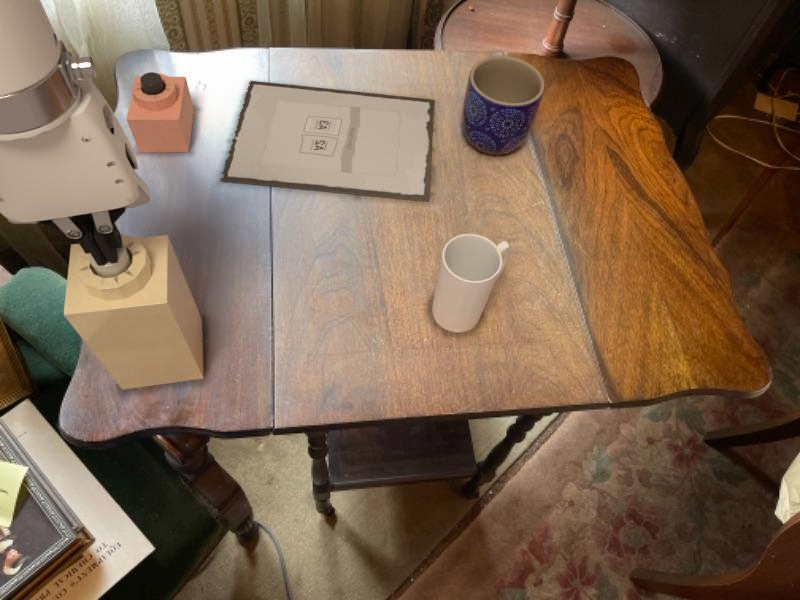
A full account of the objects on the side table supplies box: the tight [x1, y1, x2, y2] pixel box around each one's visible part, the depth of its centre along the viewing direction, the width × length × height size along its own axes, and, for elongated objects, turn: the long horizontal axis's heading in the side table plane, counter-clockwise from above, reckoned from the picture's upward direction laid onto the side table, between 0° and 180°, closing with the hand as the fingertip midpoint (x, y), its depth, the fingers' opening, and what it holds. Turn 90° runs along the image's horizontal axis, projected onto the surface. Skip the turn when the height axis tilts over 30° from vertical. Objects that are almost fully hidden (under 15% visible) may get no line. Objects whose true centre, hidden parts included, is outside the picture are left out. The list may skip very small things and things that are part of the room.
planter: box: [461, 55, 546, 156], centre depth 90 cm, size 11×11×11 cm
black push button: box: [140, 71, 164, 95], centre depth 84 cm, size 3×3×2 cm
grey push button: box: [88, 243, 131, 278], centre depth 55 cm, size 3×3×2 cm
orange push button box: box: [126, 73, 195, 153], centre depth 87 cm, size 7×9×8 cm
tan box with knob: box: [63, 233, 205, 391], centre depth 64 cm, size 9×8×19 cm
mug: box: [431, 233, 511, 334], centre depth 73 cm, size 10×7×12 cm, turn 125°
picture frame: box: [219, 80, 435, 202], centre depth 92 cm, size 22×1×30 cm
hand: (107, 251), depth 55 cm, fingers closed
